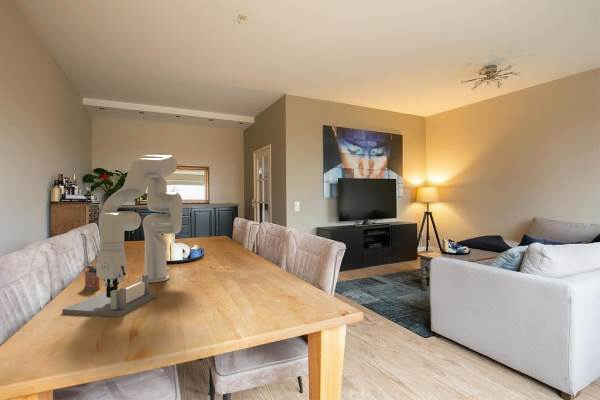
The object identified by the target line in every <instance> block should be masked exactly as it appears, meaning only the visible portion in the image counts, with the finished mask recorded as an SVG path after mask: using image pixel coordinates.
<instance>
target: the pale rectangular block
mask: <svg viewBox="0 0 600 400" xmlns="http://www.w3.org/2000/svg"><path fill="white" fill-rule="evenodd" d="M125 288H126V304H127V303H128V302H130V301H132V300H134V299H136V298H138V297H140V296H142V295H144V294H145V282H143V281H141V280H140V281H138V282H136V283H134V284H132V285H130V286H127V287H125ZM117 308H119V289H118V290H113V291H111V299H110V309H117Z"/></svg>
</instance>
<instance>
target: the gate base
mask: <svg viewBox="0 0 600 400" xmlns="http://www.w3.org/2000/svg"><path fill="white" fill-rule="evenodd" d="M141 278H142V281H143V282H145V294H144V295H142V296H140V297H138V298H136V299H134V300H132V301H130V302H128V303H127V304H126V288H127V287H121V288H119V289H118V290H119V308H117V309H110V299H111V298H109V297H106V291H105V292H102V293H99V294H97V295H94V296H92V297H90V298H87V299H84V300H82V301H79V302H77V303H74V304H72V305H69V306H67V307H64V308H62V309H61V314H62V315H78V316H91V317H92V316H95V317H106V318H107V317H108V318H109V317H111V318H120V317H122V316H124V315H125V314H128V313H129V312H131V311H133V310H135V309H137V308H139V307H140V306H142V305H144V304H146V303H147V302H150V301H152V300H153V299H156V298H157V292H149V275H145V274H142V275H141Z"/></svg>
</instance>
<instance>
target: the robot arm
mask: <svg viewBox="0 0 600 400" xmlns="http://www.w3.org/2000/svg"><path fill="white" fill-rule="evenodd" d="M177 168H178V161H177V160H176V158H175V156H174V155H167V154H166V155H162V154H161V155H159V154H146V155H145V154H144V155H141V156H139V157H138V158H136V159H134V160H133V161H132V162H131V164H130V167H129V168H128V171H127V175H126V178H125V181H124V183H123V185H122V187H120V188H119V189H118V190H116V191H115V192H114V193H112V194H111V195H110V196H109V197H108V198H107V199H106V200H105V202H104V203H103V205H102V208H101V210H100V213H99V218H98V224H99V226H100V229H99V230H100V231H99V235H100V237H99V250H98V253H97V259H96V267H97V268H96V275H97V277H99V279H100V280H102V281H104V286H105V287H106V288H105V289H106V290H105V292H106V297H109V298H111V291H113V290H119V289H118V288H119V287H118V286H119V285H120V283H122V282H125V277H126V276H127V257H126V252H125V232H126V231H127V232H128V231H135V230H137V229H138V228H140V226H141V224H142V228H143V234H144V275H149V283H160V282H165V281H167V280H169V279H170V275H169V274H168V272H170V270H171V268H170V267H167V245H168V244H167V240H166V239H165V237H164V236H163V235H177V234H179V233H180V232H181V230H182V226H183V197H182V196H181V195H180V193H179V192H175V191H172V192H171V191H167V189H168V188H167V187H168V186H167V184H168V183H167V180H166V178H167V177H169V176H170V175H173V174H174V173H175V172H176V170H177ZM146 193H147V195H146V205H147V209H148V210H149V211H151V212H157V214H156V213H155V214H148V215H146V216H145V217H144V218H143V220H142V217H141V215H140V214H139V213H138V212H135V211H123V210H118V209H119V208H120V207H121V206H122V205H124V204H126V203H128V202H131V201H133V200H134V201H135V200H137V199H139V198H141V197H143V196H144V195H145V194H146ZM161 212H167V213H170V214H164V213H163V214H160V213H161ZM141 281H142V277H141V278H140V282H141Z"/></svg>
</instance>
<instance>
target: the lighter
mask: <svg viewBox="0 0 600 400" xmlns="http://www.w3.org/2000/svg"><path fill="white" fill-rule="evenodd" d="M96 268H97V265H91V264H89V265H86V269H87V270H85V271H84V289H85V290H88V291H92V292H93V291H99V290H100V289H101V287H100V278H99V277H97V275H96Z"/></svg>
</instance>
